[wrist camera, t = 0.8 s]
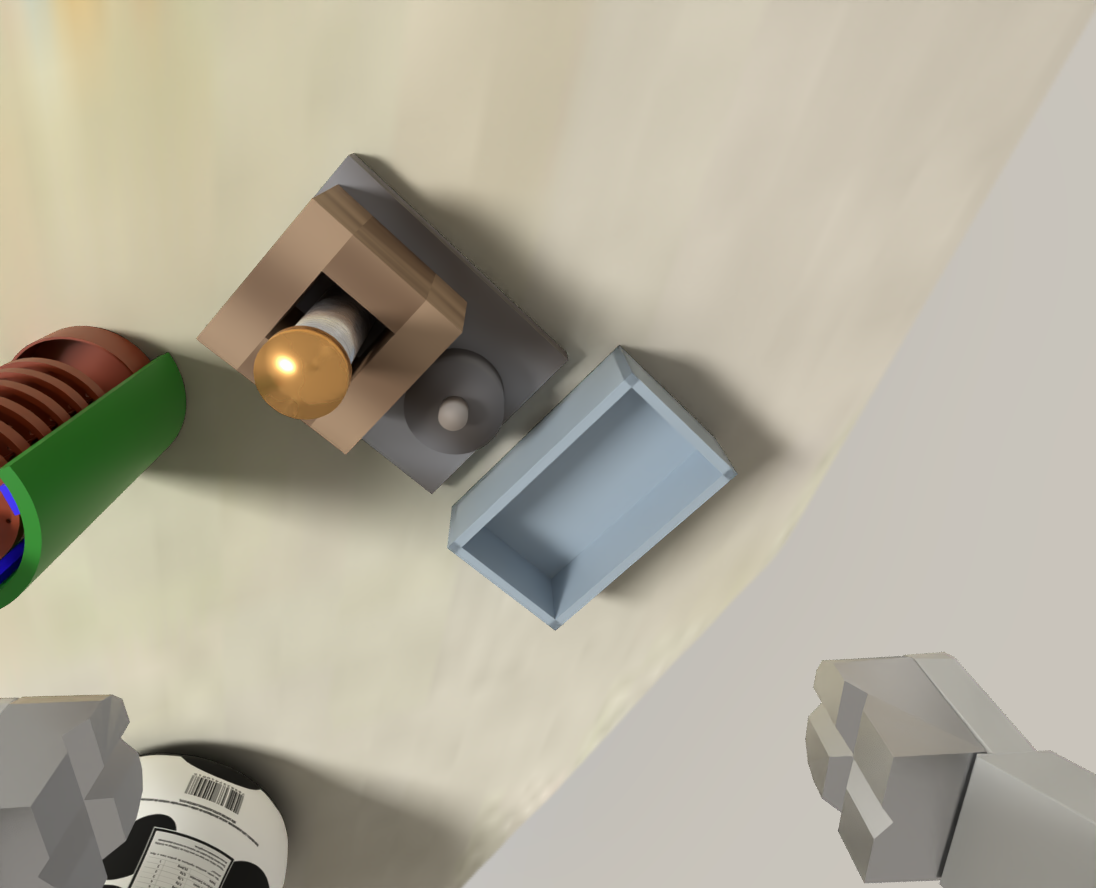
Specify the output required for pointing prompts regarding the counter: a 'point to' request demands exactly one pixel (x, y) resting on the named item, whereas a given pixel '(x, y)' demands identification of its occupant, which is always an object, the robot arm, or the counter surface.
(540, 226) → the counter surface
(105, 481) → the motor
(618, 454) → the tray
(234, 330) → the bracket
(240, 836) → the milk container
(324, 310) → the pin
